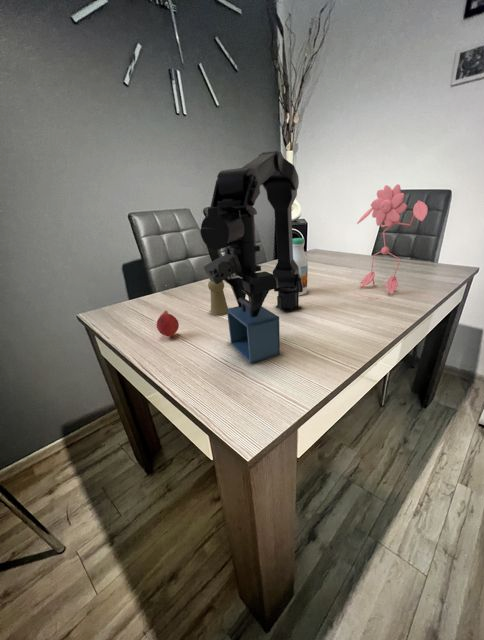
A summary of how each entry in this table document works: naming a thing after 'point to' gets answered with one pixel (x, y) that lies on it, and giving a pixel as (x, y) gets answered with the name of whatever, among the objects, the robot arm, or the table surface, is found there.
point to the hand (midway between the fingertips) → (247, 311)
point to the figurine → (390, 223)
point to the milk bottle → (300, 261)
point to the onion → (167, 324)
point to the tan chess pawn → (217, 298)
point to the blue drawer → (254, 332)
